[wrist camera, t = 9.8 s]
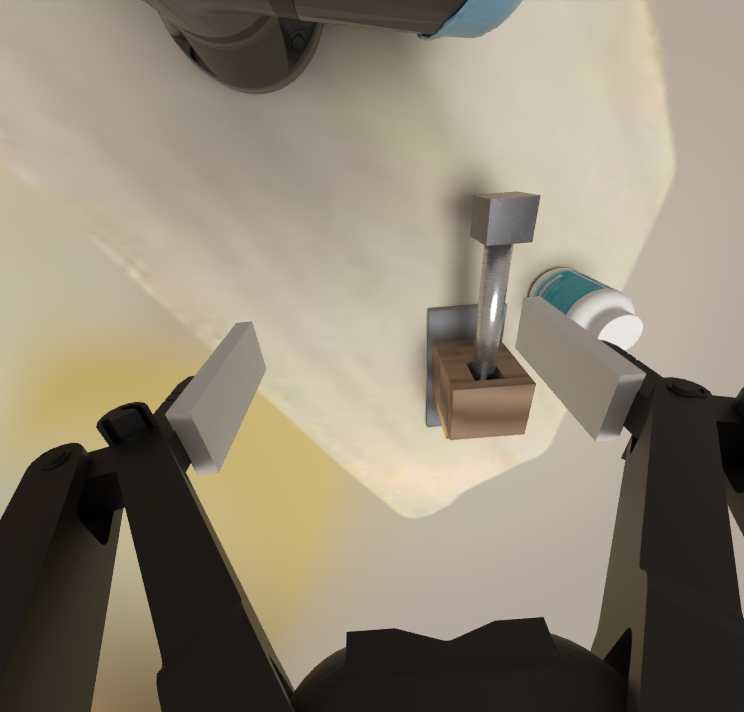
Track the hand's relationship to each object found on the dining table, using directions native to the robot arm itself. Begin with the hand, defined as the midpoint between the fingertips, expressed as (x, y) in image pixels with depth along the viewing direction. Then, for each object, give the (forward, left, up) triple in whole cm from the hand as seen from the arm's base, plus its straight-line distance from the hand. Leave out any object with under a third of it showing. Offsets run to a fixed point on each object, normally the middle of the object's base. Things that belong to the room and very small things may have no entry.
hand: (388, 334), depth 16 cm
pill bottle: (+10, +25, -29) cm, 40 cm away
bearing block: (+22, +13, -29) cm, 38 cm away
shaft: (+8, +13, -22) cm, 27 cm away
